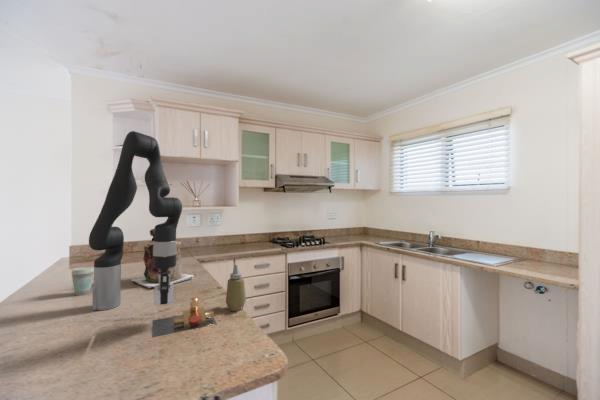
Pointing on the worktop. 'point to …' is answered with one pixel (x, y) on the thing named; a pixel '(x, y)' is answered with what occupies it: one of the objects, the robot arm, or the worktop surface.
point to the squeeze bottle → (235, 291)
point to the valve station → (184, 320)
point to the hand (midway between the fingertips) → (163, 300)
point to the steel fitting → (158, 295)
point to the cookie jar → (152, 273)
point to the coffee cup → (82, 280)
